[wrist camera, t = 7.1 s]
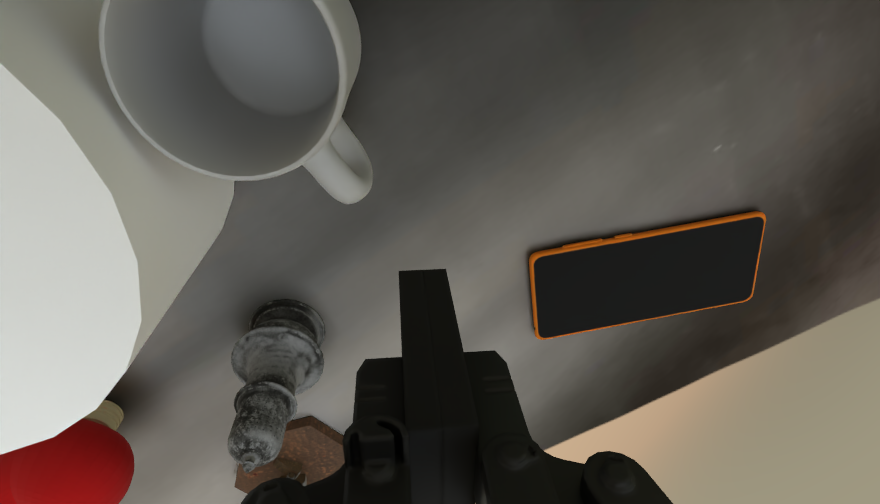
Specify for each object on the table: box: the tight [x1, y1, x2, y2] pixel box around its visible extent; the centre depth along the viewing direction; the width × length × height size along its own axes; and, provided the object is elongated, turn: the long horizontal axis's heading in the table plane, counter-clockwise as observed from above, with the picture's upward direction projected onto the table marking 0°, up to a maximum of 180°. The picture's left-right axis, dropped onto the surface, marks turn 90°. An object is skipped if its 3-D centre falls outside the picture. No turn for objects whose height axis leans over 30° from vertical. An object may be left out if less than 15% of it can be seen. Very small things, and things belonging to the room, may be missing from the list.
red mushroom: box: [0, 400, 134, 504], centre depth 33 cm, size 9×7×10 cm
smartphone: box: [529, 211, 766, 340], centre depth 36 cm, size 8×17×1 cm, turn 99°
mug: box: [98, 0, 373, 204], centre depth 23 cm, size 12×8×11 cm
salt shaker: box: [228, 299, 325, 473], centre depth 31 cm, size 6×6×12 cm
